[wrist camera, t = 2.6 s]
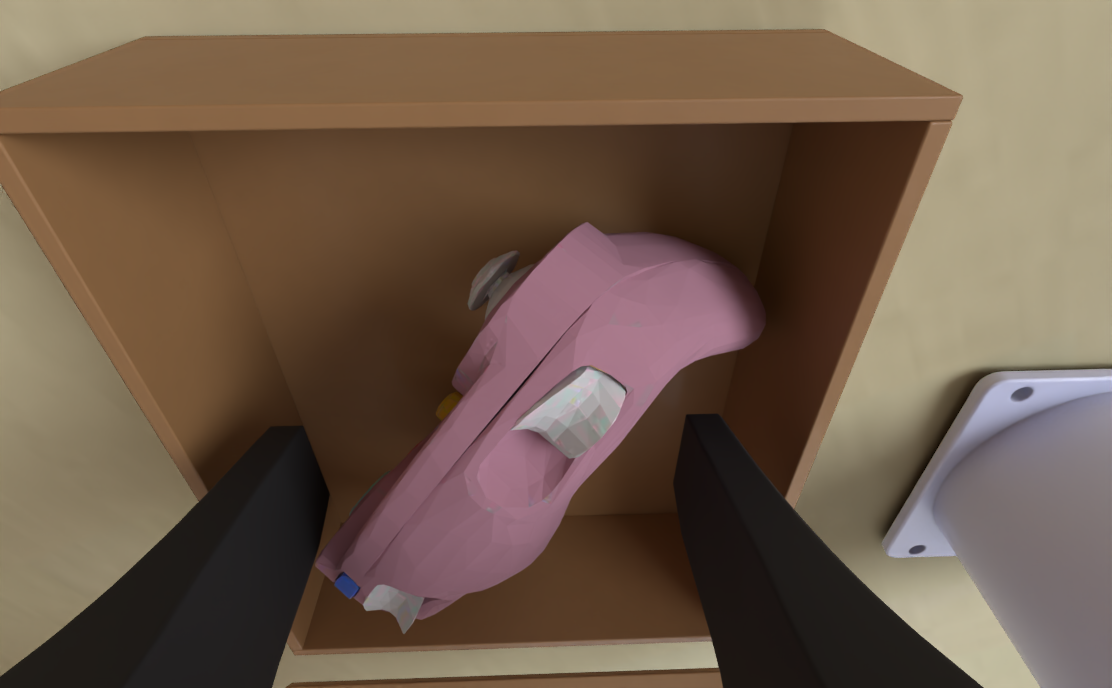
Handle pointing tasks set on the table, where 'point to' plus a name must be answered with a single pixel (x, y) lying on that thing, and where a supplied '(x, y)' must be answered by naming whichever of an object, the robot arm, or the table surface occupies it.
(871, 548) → the table surface
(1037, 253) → the table surface
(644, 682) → the brown box lid
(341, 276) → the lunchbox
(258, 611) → the robot arm
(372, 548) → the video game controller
